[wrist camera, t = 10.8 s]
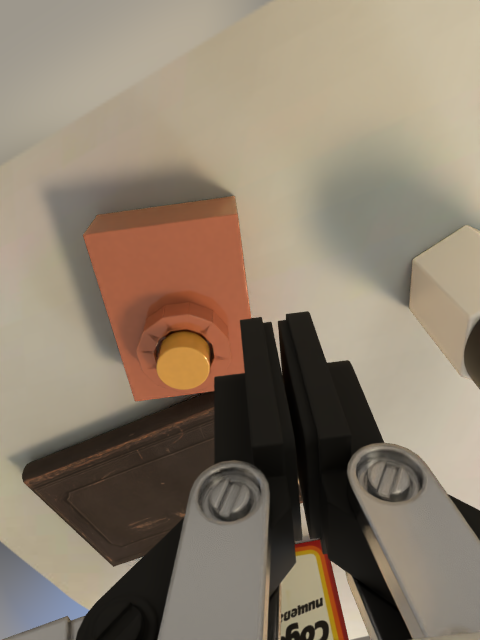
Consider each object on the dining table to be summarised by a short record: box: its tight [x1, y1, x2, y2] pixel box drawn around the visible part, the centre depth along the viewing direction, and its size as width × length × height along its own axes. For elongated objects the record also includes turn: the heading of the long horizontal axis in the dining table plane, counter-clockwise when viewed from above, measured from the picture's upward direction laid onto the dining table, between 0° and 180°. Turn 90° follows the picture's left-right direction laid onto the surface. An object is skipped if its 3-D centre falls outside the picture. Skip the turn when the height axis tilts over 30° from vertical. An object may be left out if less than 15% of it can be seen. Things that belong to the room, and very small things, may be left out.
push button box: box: [83, 196, 251, 401], centre depth 34 cm, size 14×10×6 cm
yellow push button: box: [156, 331, 210, 390], centre depth 32 cm, size 4×4×2 cm
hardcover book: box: [22, 391, 303, 567], centre depth 45 cm, size 16×23×2 cm
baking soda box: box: [281, 540, 349, 640], centre depth 49 cm, size 10×6×16 cm
